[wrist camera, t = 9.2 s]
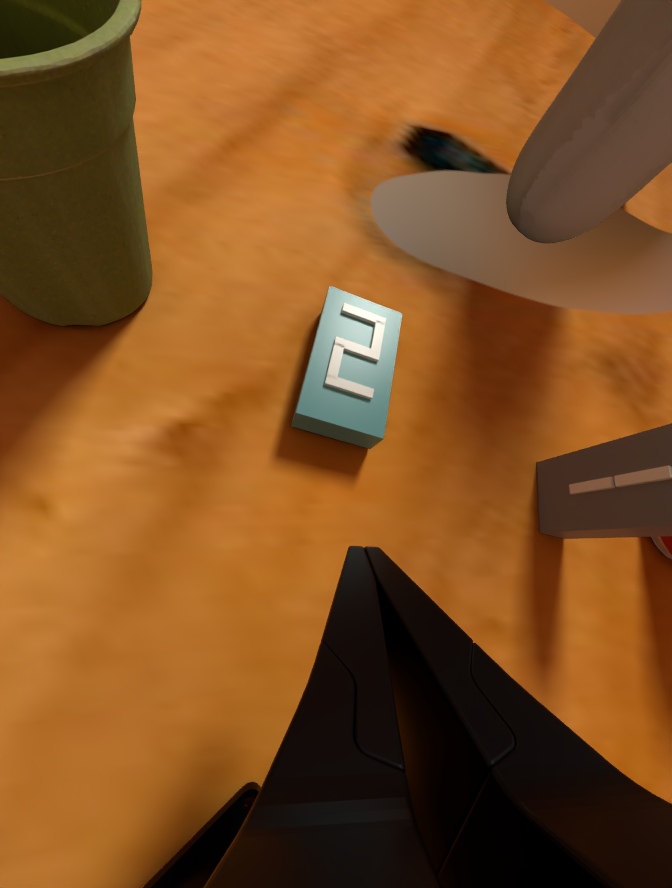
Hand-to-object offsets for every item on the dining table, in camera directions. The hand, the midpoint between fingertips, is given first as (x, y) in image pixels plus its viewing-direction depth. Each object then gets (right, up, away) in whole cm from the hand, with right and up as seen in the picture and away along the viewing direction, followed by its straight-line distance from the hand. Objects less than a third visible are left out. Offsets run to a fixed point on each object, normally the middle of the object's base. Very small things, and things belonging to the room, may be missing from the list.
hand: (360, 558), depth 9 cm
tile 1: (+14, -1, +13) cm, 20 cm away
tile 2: (-1, +4, +9) cm, 10 cm away
